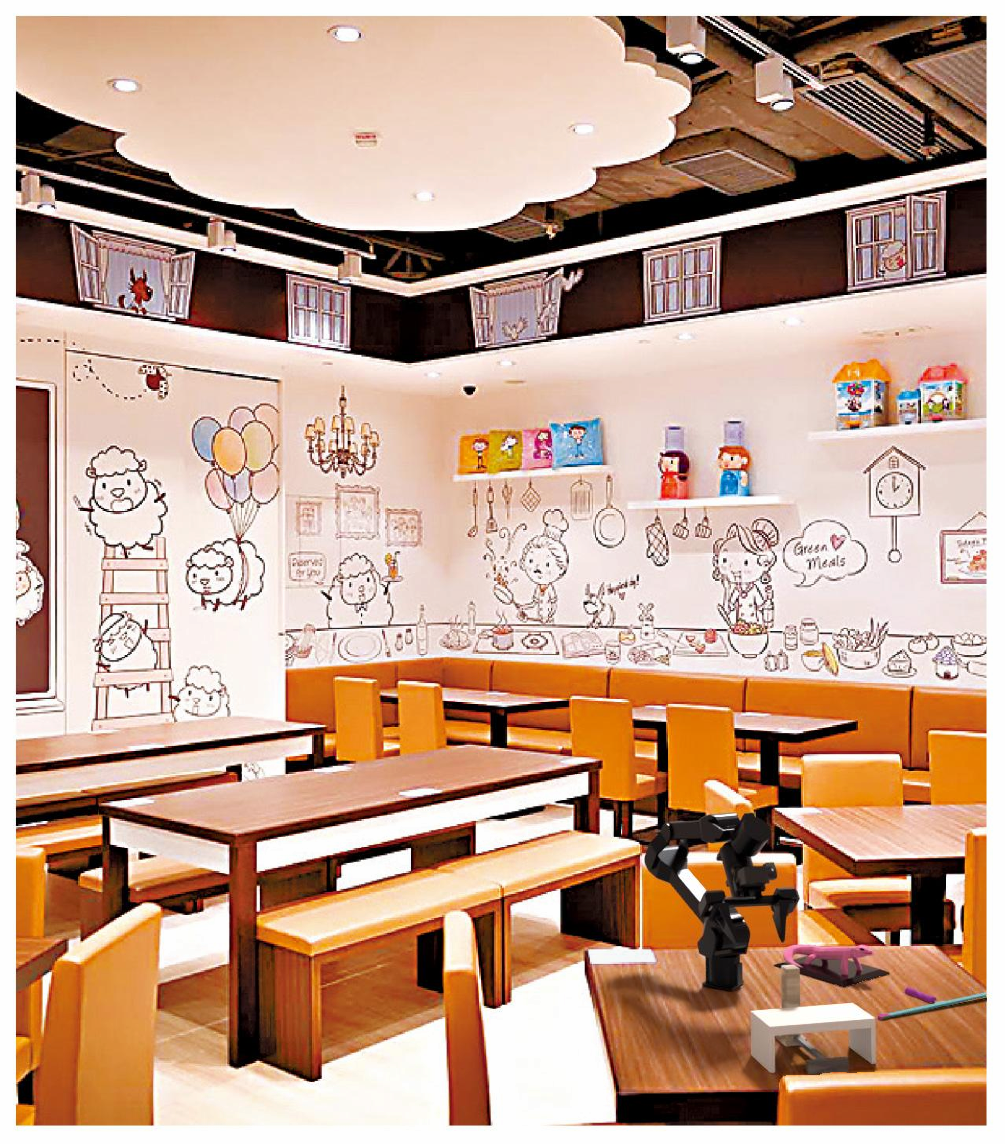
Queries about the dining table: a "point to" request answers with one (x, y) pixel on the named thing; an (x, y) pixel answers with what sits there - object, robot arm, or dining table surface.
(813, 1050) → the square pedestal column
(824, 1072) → the steel token
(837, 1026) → the white footstool bench
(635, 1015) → the dining table surface
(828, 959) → the lizard figurine
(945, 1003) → the squeegee
